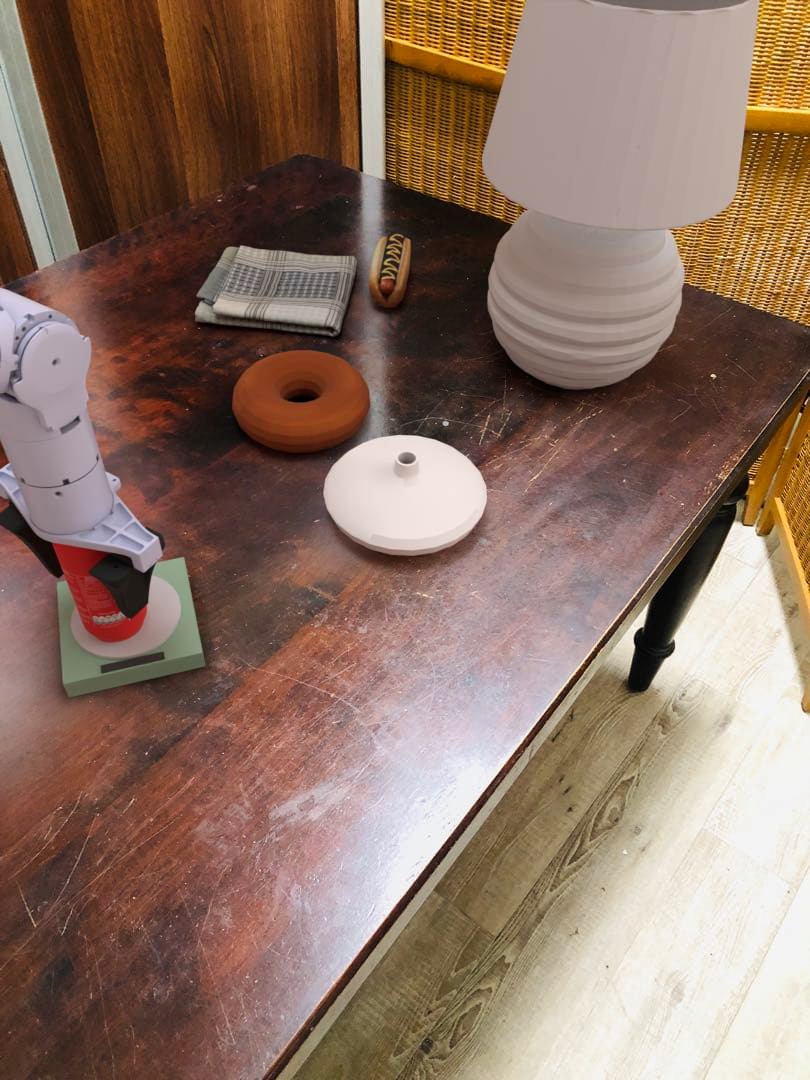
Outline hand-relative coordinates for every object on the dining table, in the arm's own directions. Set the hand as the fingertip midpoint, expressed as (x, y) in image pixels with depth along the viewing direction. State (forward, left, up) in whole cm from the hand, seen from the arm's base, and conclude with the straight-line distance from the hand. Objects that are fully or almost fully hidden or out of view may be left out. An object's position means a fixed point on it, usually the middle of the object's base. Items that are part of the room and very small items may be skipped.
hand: (100, 588), depth 70 cm
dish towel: (+39, +41, -7) cm, 56 cm away
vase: (+29, 0, -7) cm, 30 cm away
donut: (+28, +18, -7) cm, 34 cm away
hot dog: (+51, +35, -7) cm, 62 cm away
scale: (+1, +1, -7) cm, 7 cm away
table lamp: (+61, +10, -7) cm, 62 cm away
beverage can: (+1, 0, -5) cm, 5 cm away
